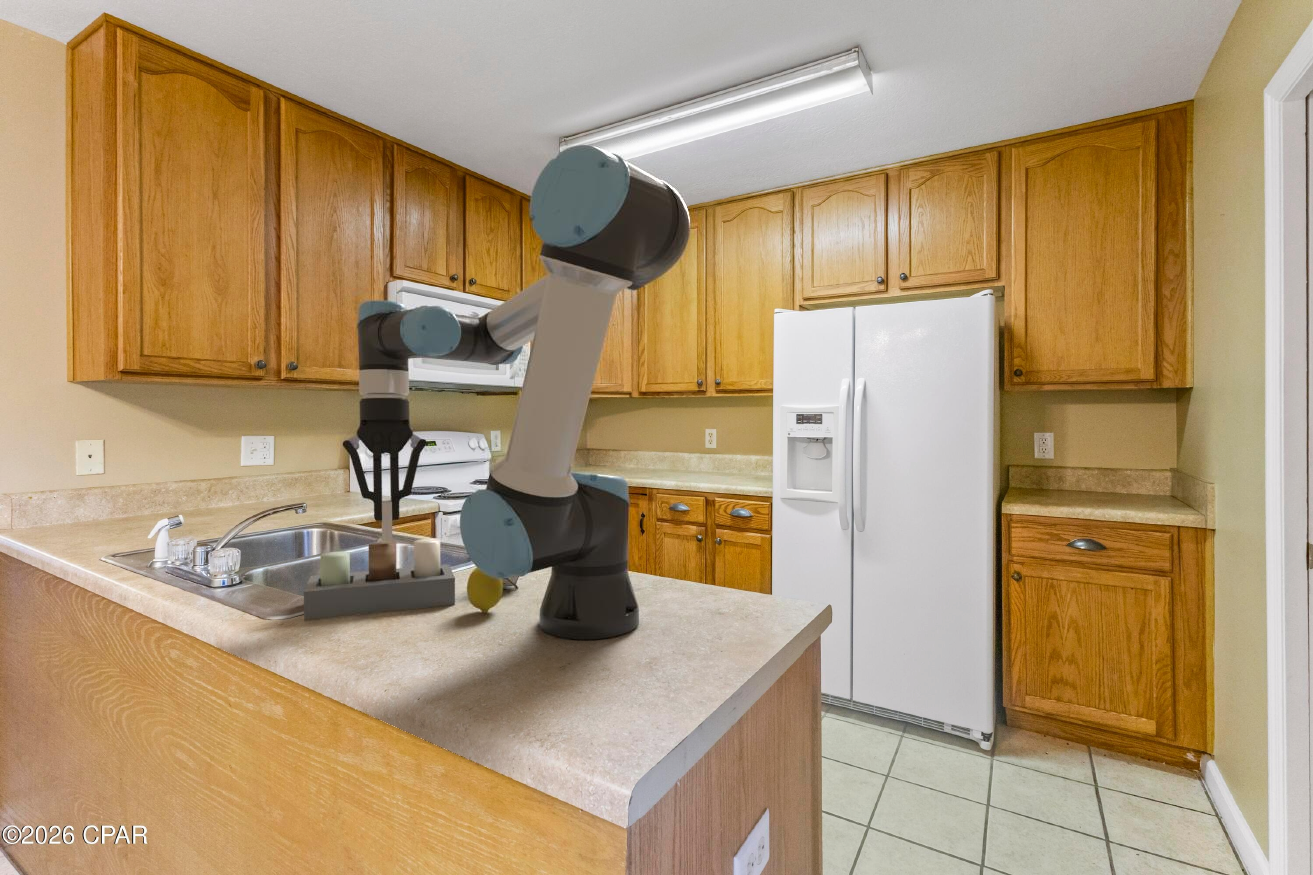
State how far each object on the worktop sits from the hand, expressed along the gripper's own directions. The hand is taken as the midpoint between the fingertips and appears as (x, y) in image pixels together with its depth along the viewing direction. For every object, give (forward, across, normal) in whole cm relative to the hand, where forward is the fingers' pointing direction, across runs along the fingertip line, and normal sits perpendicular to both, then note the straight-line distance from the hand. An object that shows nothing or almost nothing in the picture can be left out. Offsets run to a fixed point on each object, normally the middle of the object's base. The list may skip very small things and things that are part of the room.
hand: (387, 540), depth 104 cm
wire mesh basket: (+11, -19, -2) cm, 22 cm away
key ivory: (+8, -6, -1) cm, 10 cm away
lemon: (+11, -14, +10) cm, 21 cm away
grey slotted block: (+11, +1, -1) cm, 11 cm away
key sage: (+9, +8, -1) cm, 12 cm away
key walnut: (+8, +1, -1) cm, 8 cm away
